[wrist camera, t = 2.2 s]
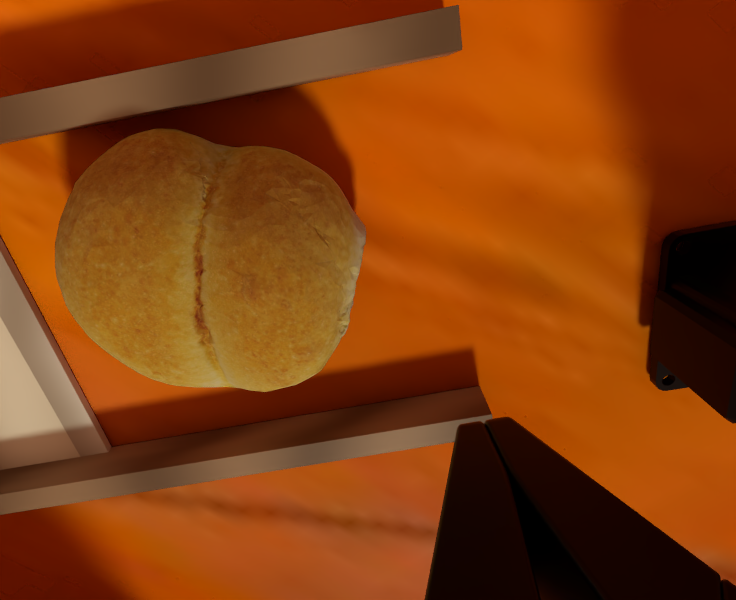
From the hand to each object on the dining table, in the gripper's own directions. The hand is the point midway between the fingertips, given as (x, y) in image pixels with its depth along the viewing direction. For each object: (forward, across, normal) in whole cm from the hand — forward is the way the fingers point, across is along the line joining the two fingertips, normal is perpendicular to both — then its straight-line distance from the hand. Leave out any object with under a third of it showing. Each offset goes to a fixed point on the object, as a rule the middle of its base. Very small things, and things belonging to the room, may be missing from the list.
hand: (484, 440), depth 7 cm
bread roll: (+10, +9, 0) cm, 14 cm away
